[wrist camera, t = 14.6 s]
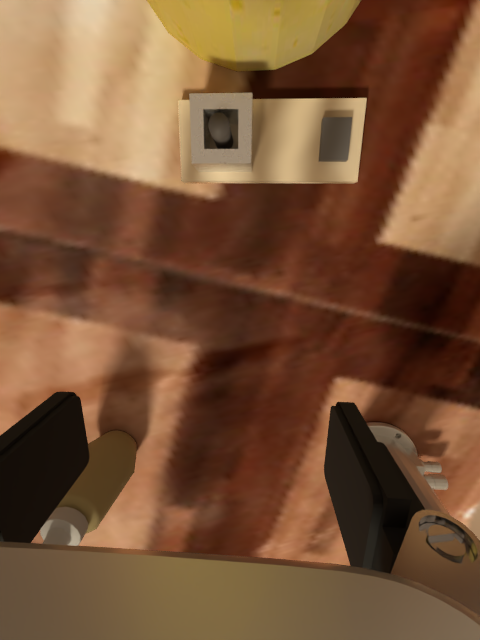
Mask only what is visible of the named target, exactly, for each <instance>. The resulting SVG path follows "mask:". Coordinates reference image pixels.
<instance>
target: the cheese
mask: <svg viewBox="0 0 480 640" xmlns="http://www.w3.org/2000/svg"><path fill="white" fill-rule="evenodd" d="M147 1H148V3H149V4H150V6H151V7H152V9H153V10H154V12H155V13H156V15H157V16H158V18H159V19H160V21H161V22H162V24H163V25H164V27H165V28H166V30H167V31H168V33H169V34H171V35H172V36H173V37H174V38H176V39H177V40H178V41H179V42H180V43H182V44H183V45H184V46H185V47H187V48H188V49H189V50H190V51H192V52H193V53H194V54H195V55H196V56H198V57H199V58H200V59H202V60H205V61H208V62H211V63H214V64H217V65H220V66H223V67H226V68H229V69H231V70H234V71H257V70H275V69H278V68H280V67H282V66H285V65H287V64H289V63H292V62H294V61H296V60H299V59H301V58H303V57H306V56H308V55H310V54H312V53H313V52H315V51H316V50H317V49H318V48H319V47H320V46H321V45H322V44H324V43H325V42H326V41H327V40H328V39H329V38H330V37H331V36H333V35H334V34H335V33H336V32H337V31H338V30H339V29H341V28H342V27H343V26H344V25H345V24H346V23H347V21H348V20H349V18H350V17H351V15H352V14H353V12H354V10H355V9H356V7H357V6H358V4H359V3H360V1H361V0H147Z"/></svg>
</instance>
